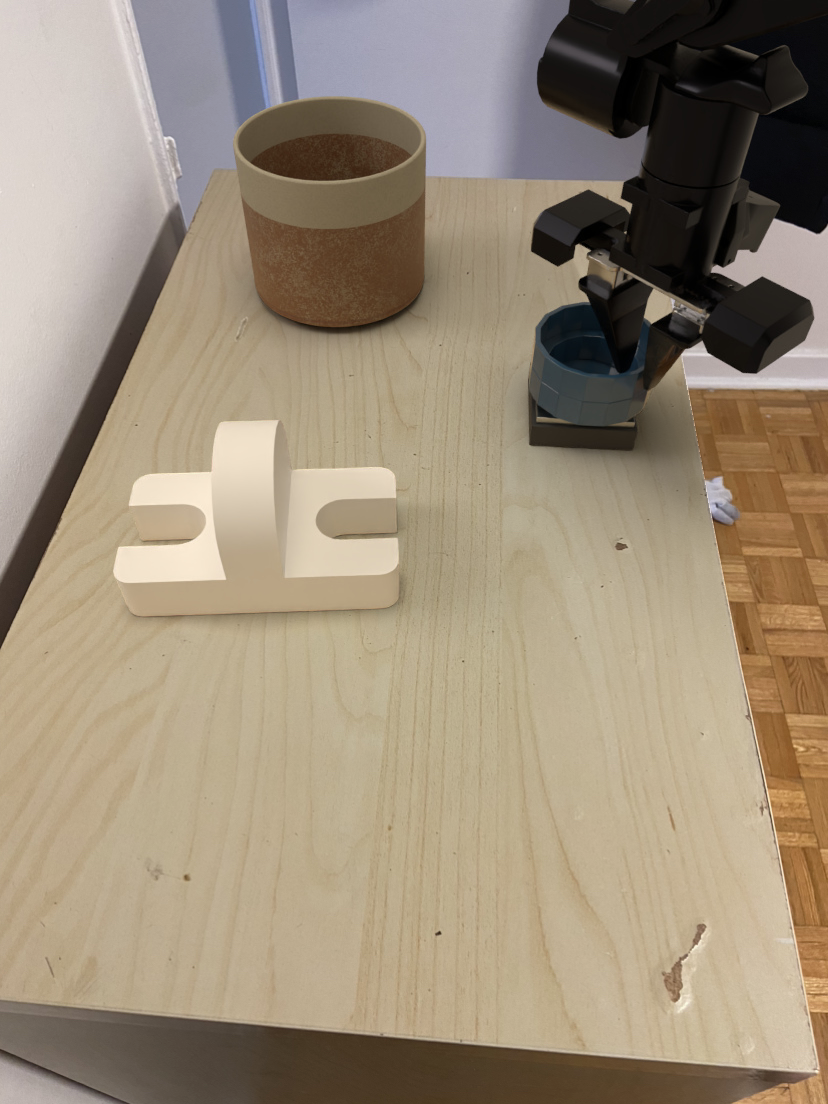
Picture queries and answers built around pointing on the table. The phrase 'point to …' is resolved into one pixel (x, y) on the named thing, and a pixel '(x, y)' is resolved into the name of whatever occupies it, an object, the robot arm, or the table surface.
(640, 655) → the table surface
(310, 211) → the planter
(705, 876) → the table surface
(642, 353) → the bowl
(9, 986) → the table surface
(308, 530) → the slotted base with upright
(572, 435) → the scale
